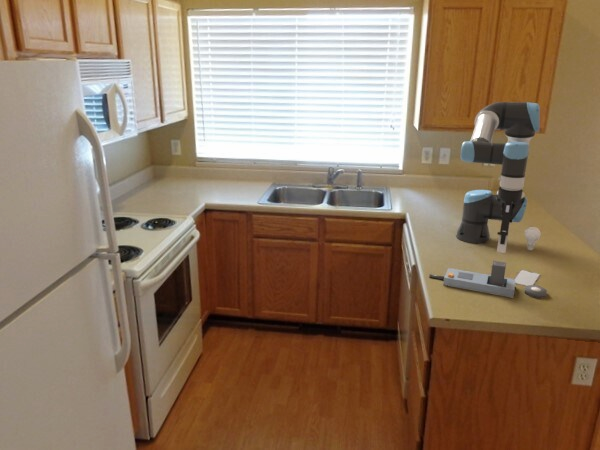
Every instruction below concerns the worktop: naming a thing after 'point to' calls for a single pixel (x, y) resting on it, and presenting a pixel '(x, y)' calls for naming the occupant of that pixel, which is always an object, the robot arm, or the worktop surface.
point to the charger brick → (497, 273)
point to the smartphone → (526, 278)
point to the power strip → (476, 282)
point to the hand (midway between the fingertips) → (502, 245)
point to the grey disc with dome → (535, 291)
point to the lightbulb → (532, 237)
